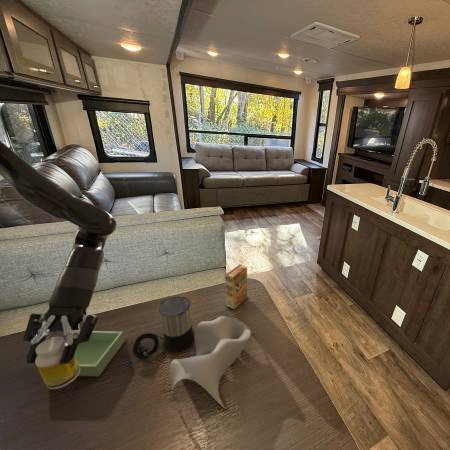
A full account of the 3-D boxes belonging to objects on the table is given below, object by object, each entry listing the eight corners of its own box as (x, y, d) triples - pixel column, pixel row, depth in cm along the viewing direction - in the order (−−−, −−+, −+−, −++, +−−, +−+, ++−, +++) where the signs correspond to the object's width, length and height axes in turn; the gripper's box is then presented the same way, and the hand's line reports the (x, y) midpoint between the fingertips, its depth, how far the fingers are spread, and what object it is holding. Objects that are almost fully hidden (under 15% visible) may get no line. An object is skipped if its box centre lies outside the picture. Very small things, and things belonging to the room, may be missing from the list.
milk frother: (200, 336, 85) (197, 302, 79) (159, 374, 71) (151, 336, 66) (171, 321, 90) (166, 287, 84) (127, 353, 77) (117, 317, 71)
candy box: (234, 309, 98) (233, 277, 92) (225, 305, 99) (224, 274, 94) (247, 297, 105) (247, 266, 99) (239, 293, 107) (239, 263, 101)
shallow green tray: (48, 375, 68) (44, 365, 67) (82, 339, 80) (79, 330, 78) (98, 376, 69) (95, 366, 68) (125, 340, 81) (122, 331, 79)
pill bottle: (82, 378, 60) (69, 346, 56) (47, 396, 56) (30, 362, 51) (79, 361, 64) (67, 329, 60) (45, 376, 60) (30, 343, 55)
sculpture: (204, 326, 89) (202, 305, 85) (255, 334, 88) (256, 313, 84) (161, 397, 66) (155, 372, 62) (229, 409, 65) (228, 385, 61)
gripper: (31, 284, 58) (-4, 365, 51) (95, 286, 59) (69, 366, 52) (57, 288, 65) (29, 360, 58) (114, 290, 66) (93, 361, 59)
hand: (48, 362), depth 55 cm, fingers closed on pill bottle, 6 cm apart
